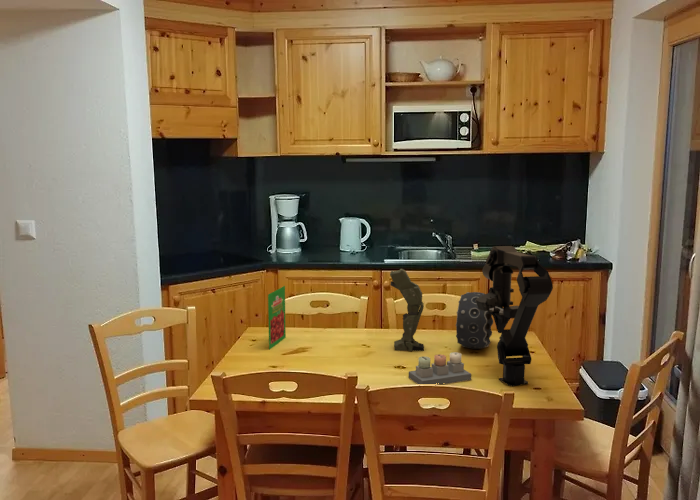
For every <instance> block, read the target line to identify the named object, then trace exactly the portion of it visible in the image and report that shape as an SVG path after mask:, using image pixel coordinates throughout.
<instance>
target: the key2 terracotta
mask: <svg viewBox="0 0 700 500" xmlns="http://www.w3.org/2000/svg"><path fill="white" fill-rule="evenodd" d="M433 358H434V359H433V361H434V362H433V363H434V364H435V365H438V366H443V365H447V356H446V355H445V354H441V353H440V354H435V355H434V357H433Z"/></svg>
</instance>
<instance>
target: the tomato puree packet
mask: <svg viewBox="0 0 700 500" xmlns="http://www.w3.org/2000/svg"><path fill="white" fill-rule="evenodd" d="M267 304H268V306H267V308H268V309H267V313H268V350H271V349H273V348H274V347H276V345H279V344H280V342H282V341H283V340H285V339H286V338H287V337H286V336H287V335H286V286H285V285H283V286H282V287H280V288H278V289H276V290H274V291H273V292H270V293H269V294H267Z"/></svg>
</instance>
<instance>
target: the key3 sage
mask: <svg viewBox="0 0 700 500" xmlns="http://www.w3.org/2000/svg"><path fill="white" fill-rule="evenodd" d="M417 366H419V367H421V368H423V369H424V368H429V367H431V357H430V356H419V357H418V365H417Z"/></svg>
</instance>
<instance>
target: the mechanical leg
mask: <svg viewBox="0 0 700 500" xmlns="http://www.w3.org/2000/svg"><path fill="white" fill-rule="evenodd" d="M389 276H390V278H391V279H392V281H390V286H391V287H392V288H394V289H396V290H398V291H399V292H400V294H401V296H402V297H403V299H404V301H405V302H406V303H407V306H406V309H407V313H404V314H403V315H402V329H403V332H402V337H400V339H397V340H394V342H393V349H394V351H400V352H401V351H405V352H408V351H409V352H425V346H424V343H421V342H419V341H416V340H415V338H414V336H415V334H416V332H417V329H418V327H419V322H420V319H421V316H422V314H423V311H424V306H425V305H424V302H423V292H422V290H421V287H420V286H419V284H417V283H415V282H413V281H411V280H412V279H410V277H409V274H408V273H407V271H406V270H405V269H404V268H400V269H399V270H391V271H390V272H389Z"/></svg>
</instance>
